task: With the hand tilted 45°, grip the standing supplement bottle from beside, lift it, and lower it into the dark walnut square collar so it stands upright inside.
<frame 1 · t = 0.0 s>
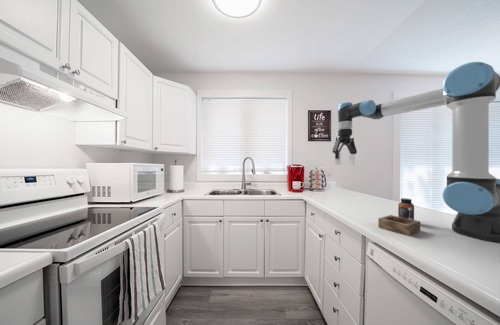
hand: (345, 164, 111), 28 cm above the counter, tool pointing down, fingers open, 13 cm apart
walnut collar: (398, 228, 81), on the counter
supplement bottle: (406, 222, 91), on the counter
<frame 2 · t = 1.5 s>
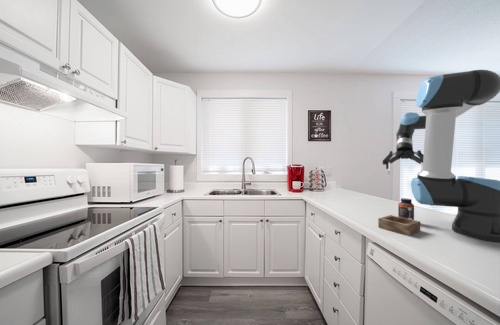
hand: (405, 172, 99), 24 cm above the counter, tool tilted 45°, fingers open, 13 cm apart
nothing on the counter moved.
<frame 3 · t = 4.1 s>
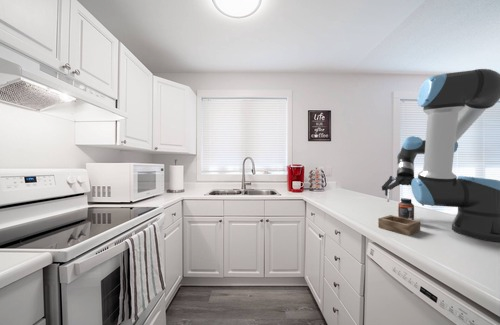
hand: (404, 202, 94), 9 cm above the counter, tool tilted 45°, fingers open, 13 cm apart
nothing on the counter moved.
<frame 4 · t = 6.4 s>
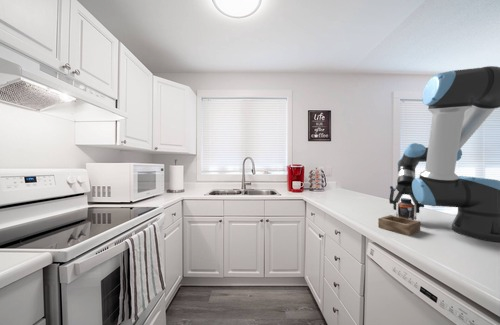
hand: (405, 216, 88), 3 cm above the counter, tool tilted 45°, fingers closed on supplement bottle, 6 cm apart
supplement bottle: (406, 222, 91), on the counter, touching gripper
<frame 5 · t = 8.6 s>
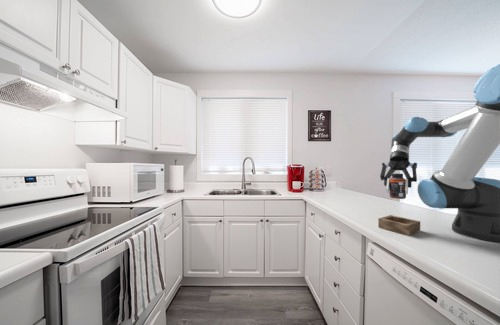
hand: (396, 191, 82), 16 cm above the counter, tool tilted 45°, fingers closed on supplement bottle, 6 cm apart
supplement bottle: (397, 198, 85), point 13 cm above the counter, touching gripper
when the fingers open (6 cm above the counter, at t = 11.2 s): supplement bottle drops 2 cm, resting in walnut collar.
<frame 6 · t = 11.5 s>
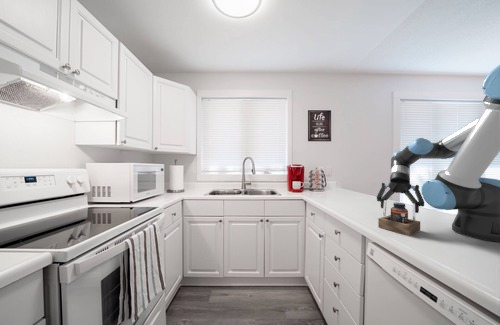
hand: (398, 216, 79), 6 cm above the counter, tool tilted 45°, fingers open, 9 cm apart
supplement bottle: (399, 229, 81), resting in walnut collar
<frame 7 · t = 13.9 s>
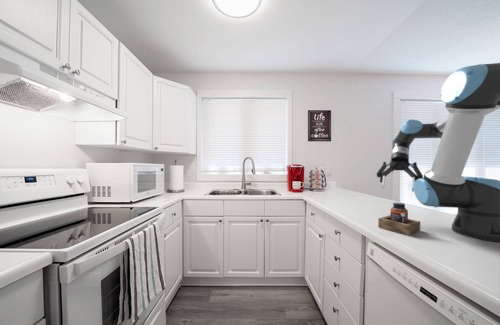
hand: (397, 188, 89), 17 cm above the counter, tool tilted 45°, fingers open, 11 cm apart
nothing on the counter moved.
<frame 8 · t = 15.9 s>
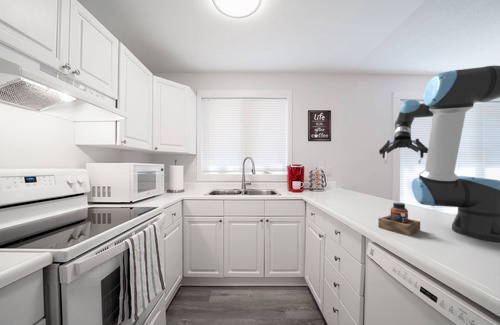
hand: (401, 161, 96), 30 cm above the counter, tool tilted 45°, fingers open, 13 cm apart
nothing on the counter moved.
at the end: supplement bottle 0.1 cm off-centre on the walnut collar, point 0.0 cm above the walnut collar's base; supplement bottle tilted 0°; the gripper is holding nothing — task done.
